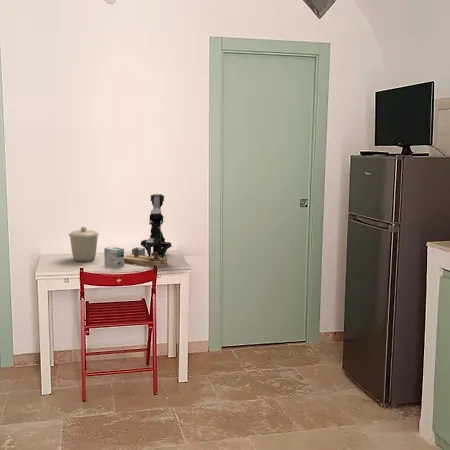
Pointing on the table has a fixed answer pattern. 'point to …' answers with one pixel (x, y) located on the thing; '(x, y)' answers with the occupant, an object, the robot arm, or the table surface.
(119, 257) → the light bulb box
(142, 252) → the grey cube
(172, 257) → the table surface
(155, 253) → the pin
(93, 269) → the table surface
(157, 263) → the board
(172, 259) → the table surface
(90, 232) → the canister
